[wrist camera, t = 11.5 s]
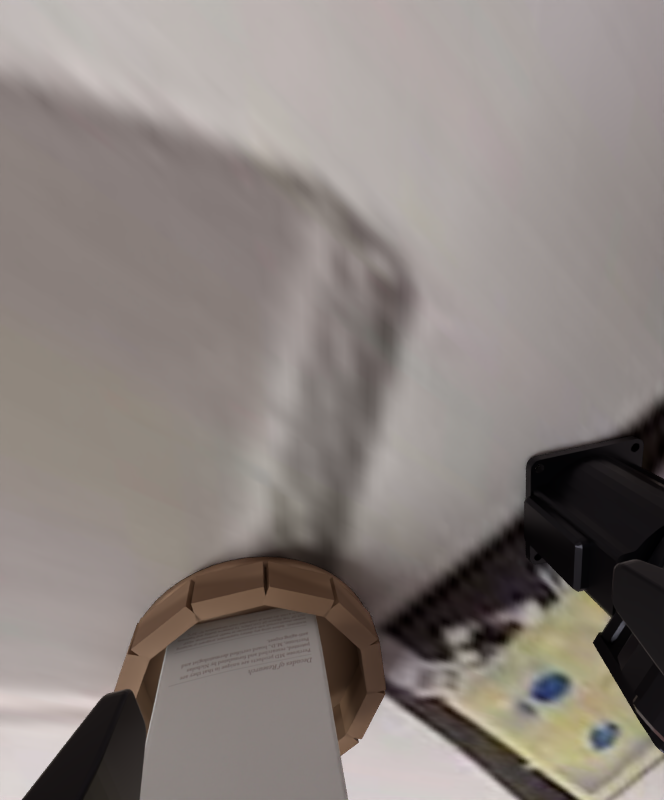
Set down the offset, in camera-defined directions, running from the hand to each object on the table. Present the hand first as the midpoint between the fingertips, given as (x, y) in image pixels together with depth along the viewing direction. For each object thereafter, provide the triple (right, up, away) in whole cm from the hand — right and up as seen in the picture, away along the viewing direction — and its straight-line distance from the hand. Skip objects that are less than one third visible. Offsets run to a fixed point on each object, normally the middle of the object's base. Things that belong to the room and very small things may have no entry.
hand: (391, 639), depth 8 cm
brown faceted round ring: (-5, -10, +16) cm, 19 cm away
